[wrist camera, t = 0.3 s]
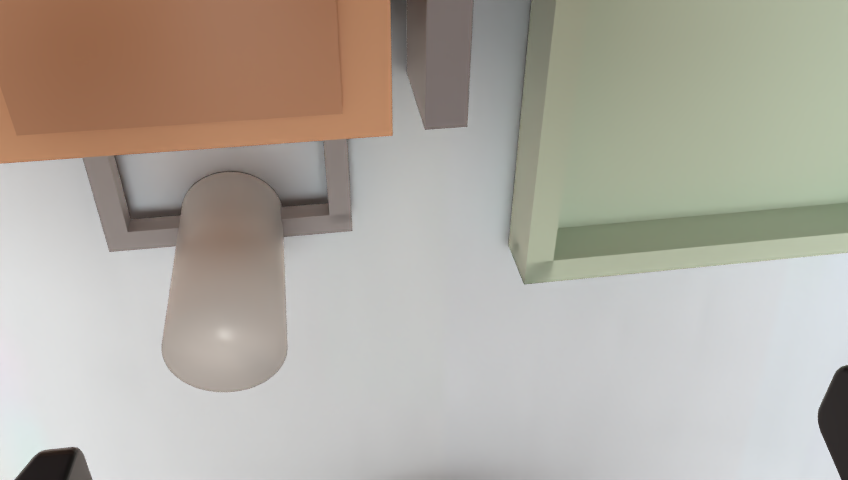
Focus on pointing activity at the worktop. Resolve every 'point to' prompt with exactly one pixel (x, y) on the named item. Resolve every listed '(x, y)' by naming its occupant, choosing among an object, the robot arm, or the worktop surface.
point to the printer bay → (440, 60)
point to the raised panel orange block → (201, 140)
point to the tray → (680, 135)
